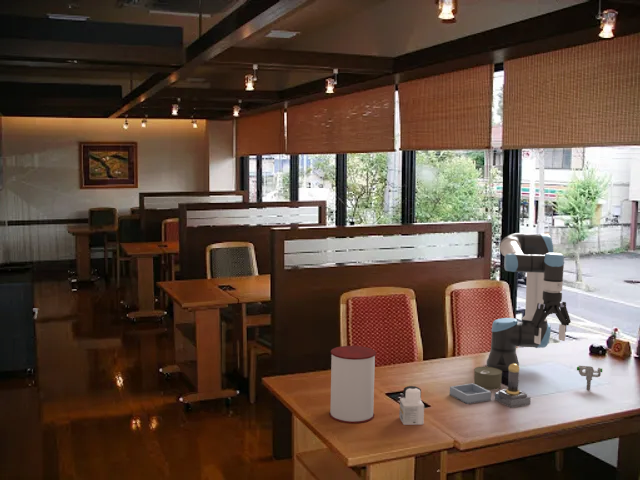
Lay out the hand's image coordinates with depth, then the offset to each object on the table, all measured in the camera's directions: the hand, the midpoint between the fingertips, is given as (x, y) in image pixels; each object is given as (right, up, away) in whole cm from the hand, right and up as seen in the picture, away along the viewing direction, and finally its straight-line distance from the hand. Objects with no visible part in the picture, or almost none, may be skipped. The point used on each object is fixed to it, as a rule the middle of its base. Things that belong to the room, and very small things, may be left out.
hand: (549, 341), depth 281 cm
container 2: (-60, -27, -23) cm, 70 cm away
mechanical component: (+23, -23, +17) cm, 37 cm away
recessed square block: (-16, -25, -1) cm, 29 cm away
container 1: (-82, -26, -18) cm, 88 cm away
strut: (-16, -22, -1) cm, 27 cm away
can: (-21, -22, +20) cm, 37 cm away
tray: (-32, -24, +4) cm, 40 cm away
